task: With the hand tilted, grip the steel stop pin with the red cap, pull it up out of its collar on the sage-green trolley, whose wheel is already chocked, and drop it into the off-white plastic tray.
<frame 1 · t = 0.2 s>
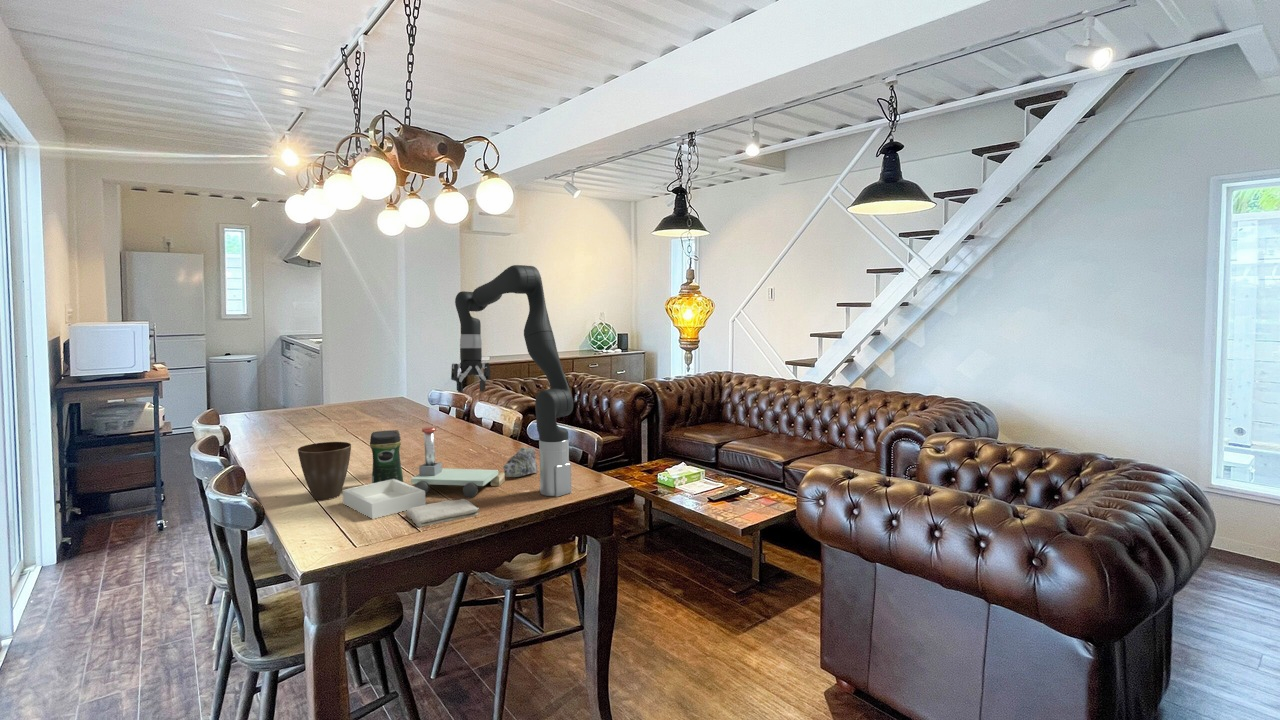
hand: (471, 391, 222), 29 cm above the table, tool pointing down, fingers open, 8 cm apart
coffee jar: (387, 486, 204), on the table
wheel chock: (497, 483, 205), on the table
tray: (384, 505, 184), on the table
plant pot: (327, 497, 193), on the table
stop pin: (430, 473, 200), point 5 cm above the table, touching trolley
trolley: (456, 489, 199), on the table
mineral rock: (520, 475, 216), on the table
washcloth: (443, 517, 175), on the table
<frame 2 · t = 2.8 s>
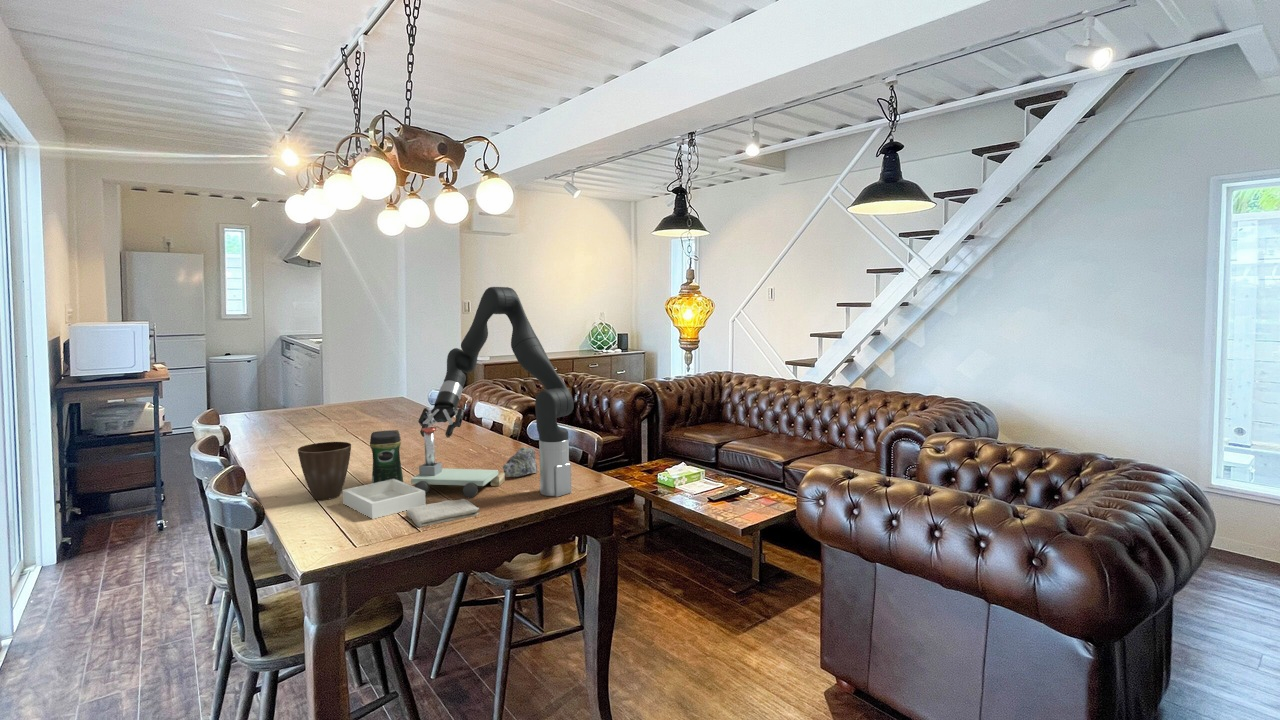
hand: (435, 436, 203), 17 cm above the table, tool tilted 45°, fingers open, 8 cm apart
nothing on the table moved.
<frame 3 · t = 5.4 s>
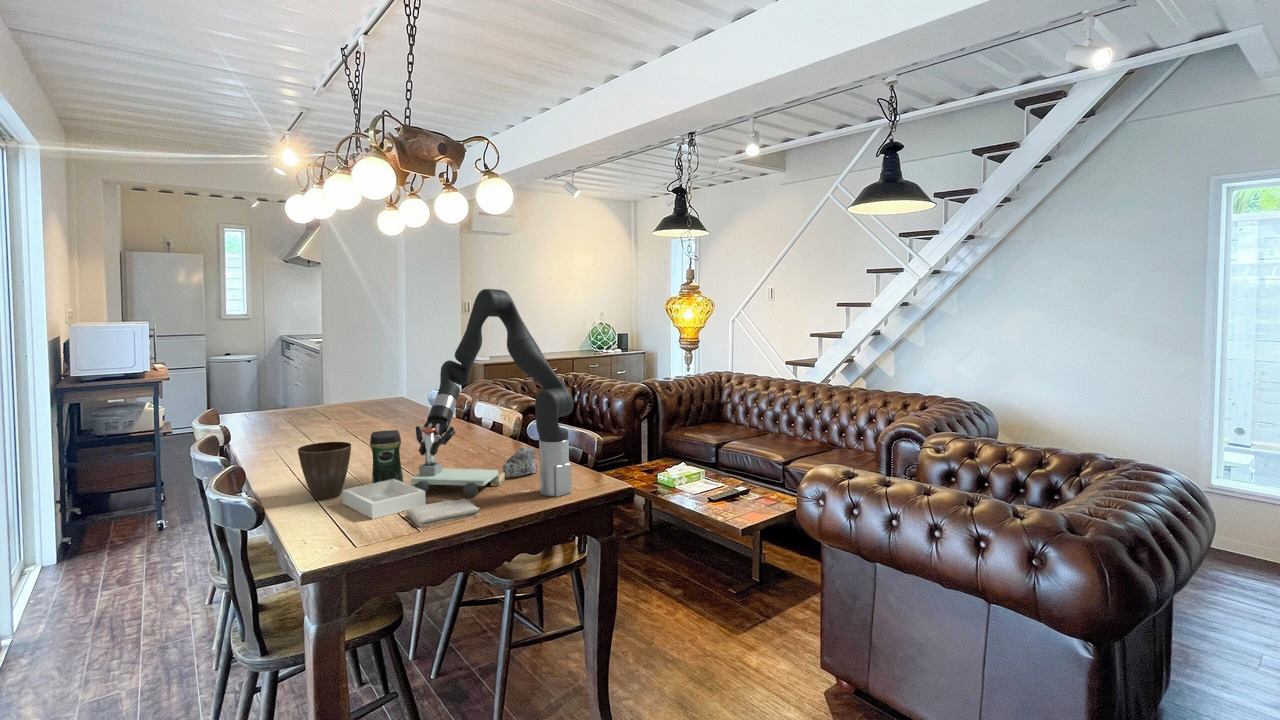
hand: (427, 454, 198), 12 cm above the table, tool tilted 45°, fingers closed on stop pin, 3 cm apart
stop pin: (430, 473, 200), point 5 cm above the table, touching gripper, trolley
everything else where it was.
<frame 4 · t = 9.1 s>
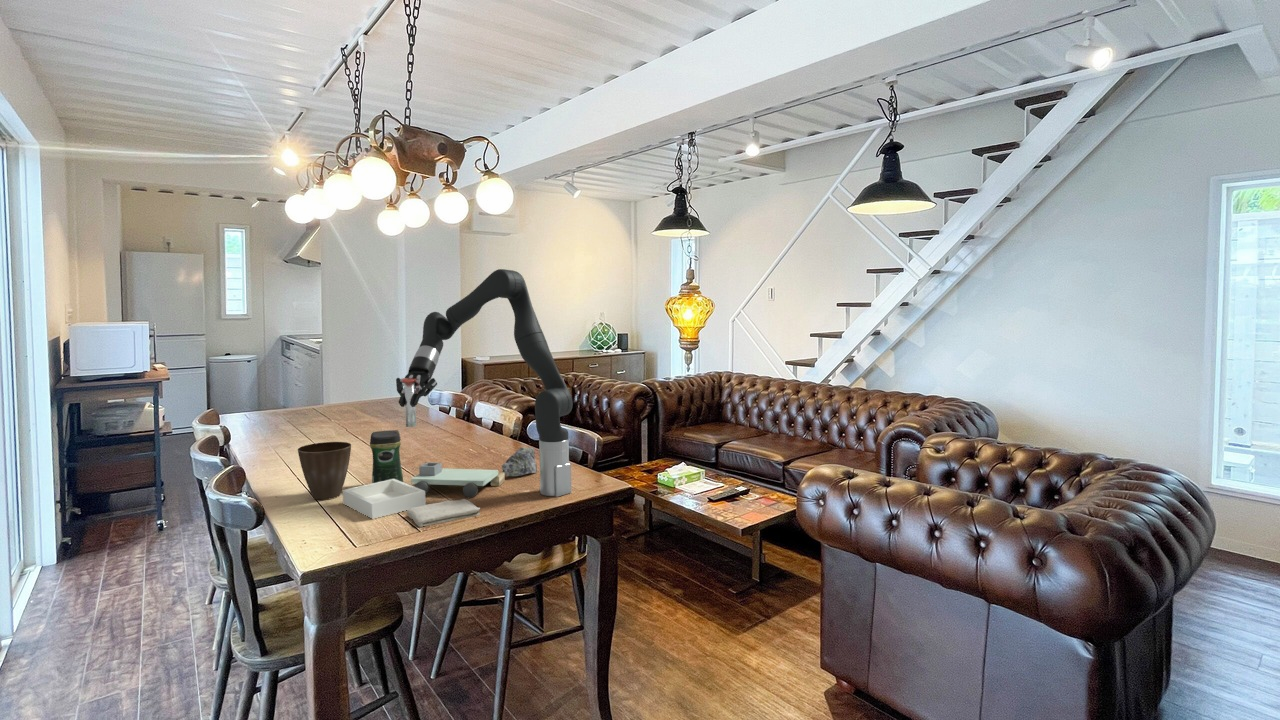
hand: (406, 405, 190), 29 cm above the table, tool tilted 45°, fingers closed on stop pin, 3 cm apart
stop pin: (411, 426, 193), point 22 cm above the table, touching gripper
everything else where it was.
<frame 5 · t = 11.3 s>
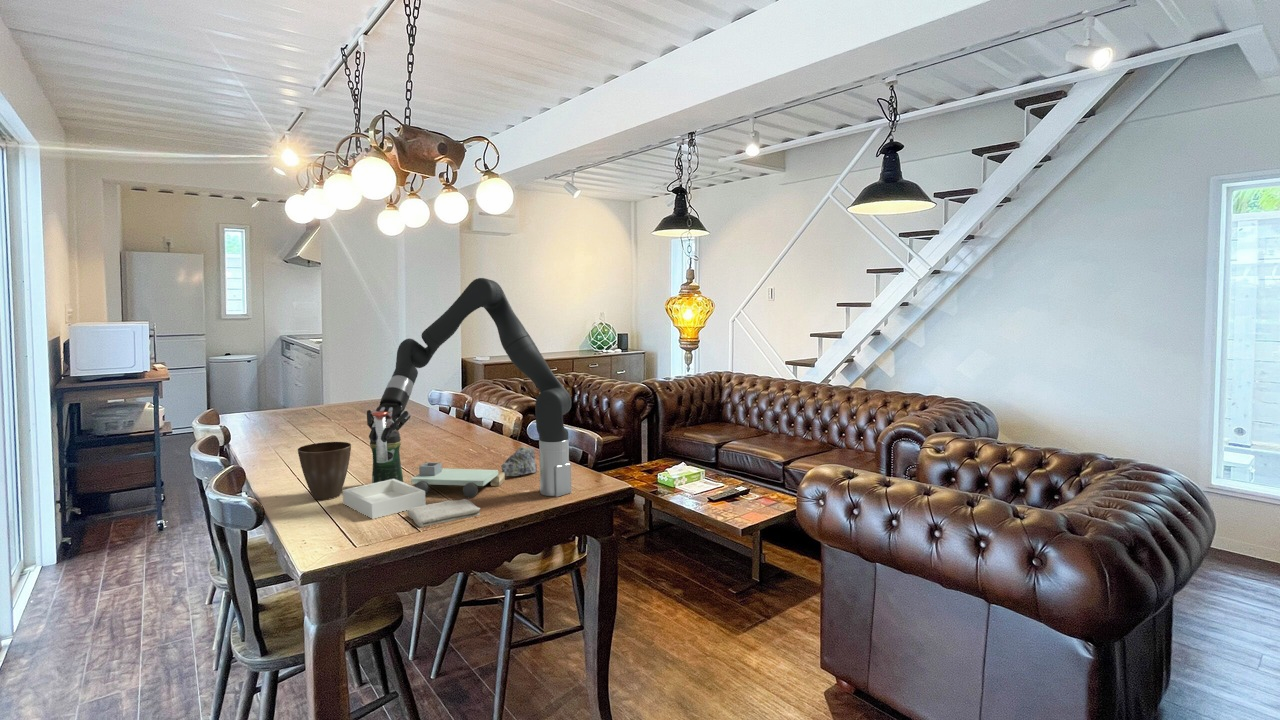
hand: (377, 440, 180), 20 cm above the table, tool tilted 45°, fingers closed on stop pin, 3 cm apart
stop pin: (382, 461, 183), point 13 cm above the table, touching gripper
when the fingers open (10 cm above the table, at t = 13.0 s): stop pin drops 2 cm, resting on tray.
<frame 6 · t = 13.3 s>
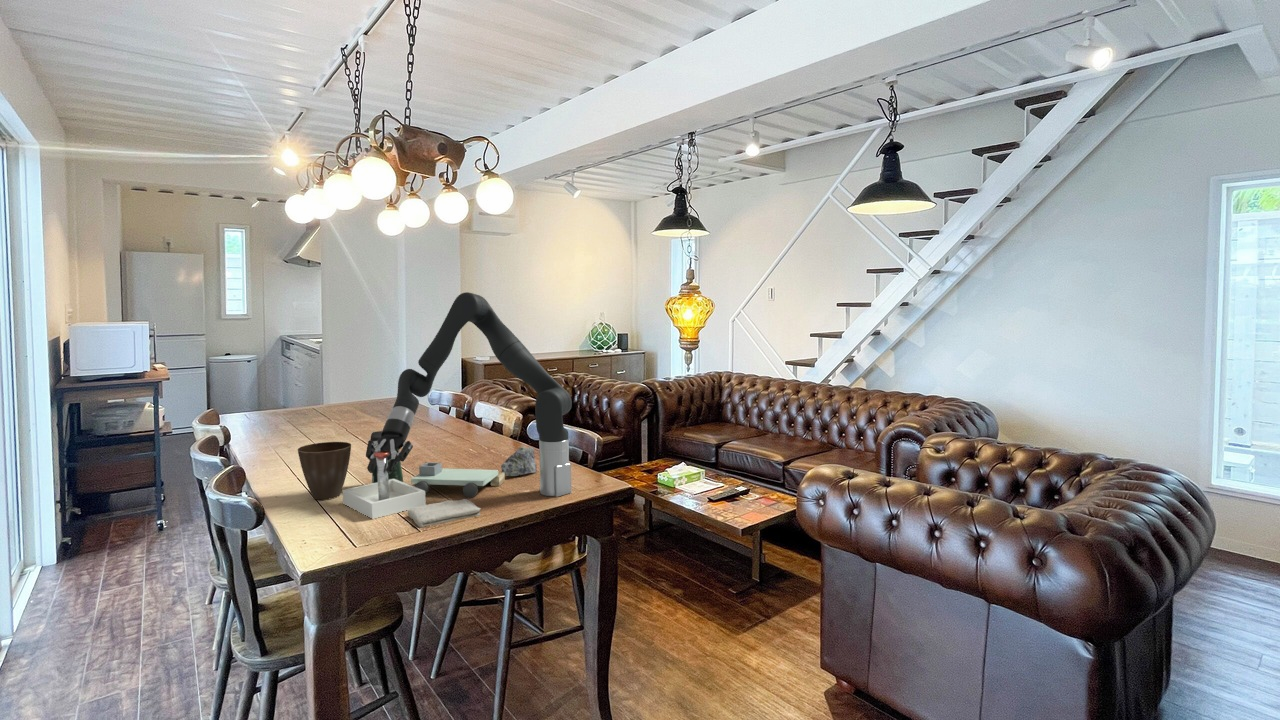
hand: (379, 471, 181), 11 cm above the table, tool tilted 45°, fingers open, 5 cm apart
stop pin: (384, 501, 184), point 1 cm above the table, touching tray
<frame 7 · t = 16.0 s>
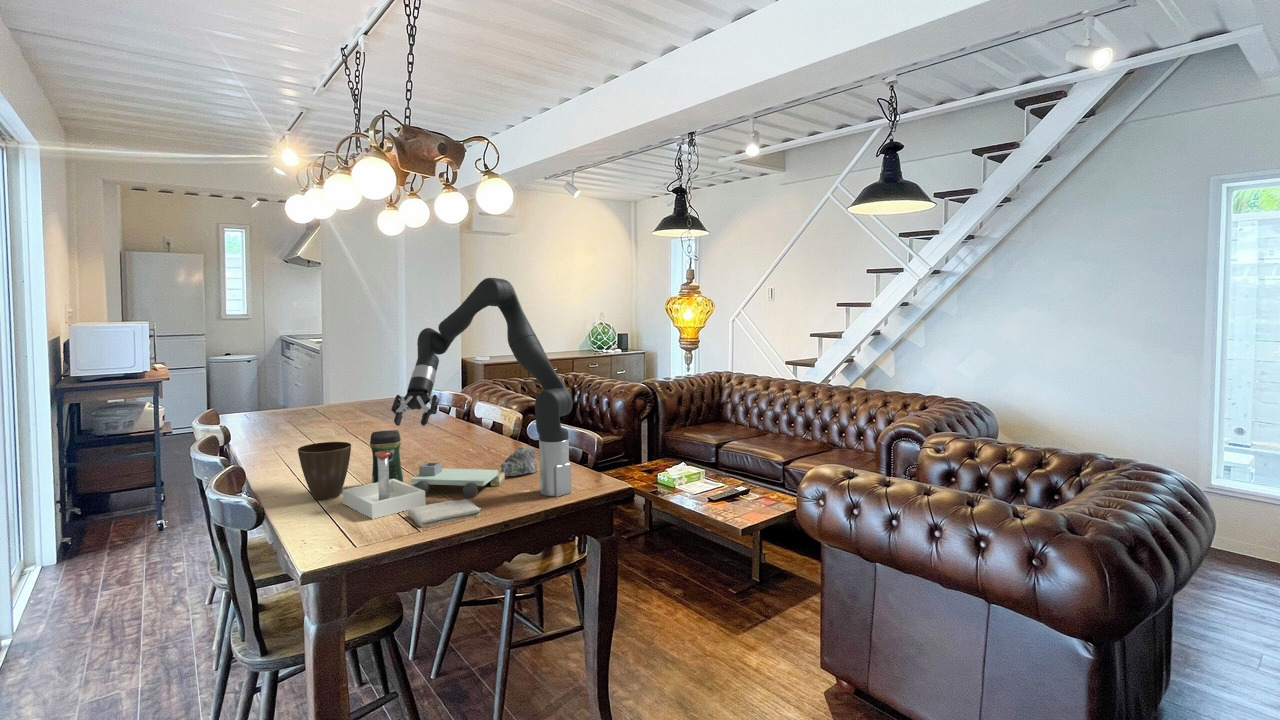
hand: (409, 424, 195), 22 cm above the table, tool tilted 40°, fingers open, 8 cm apart
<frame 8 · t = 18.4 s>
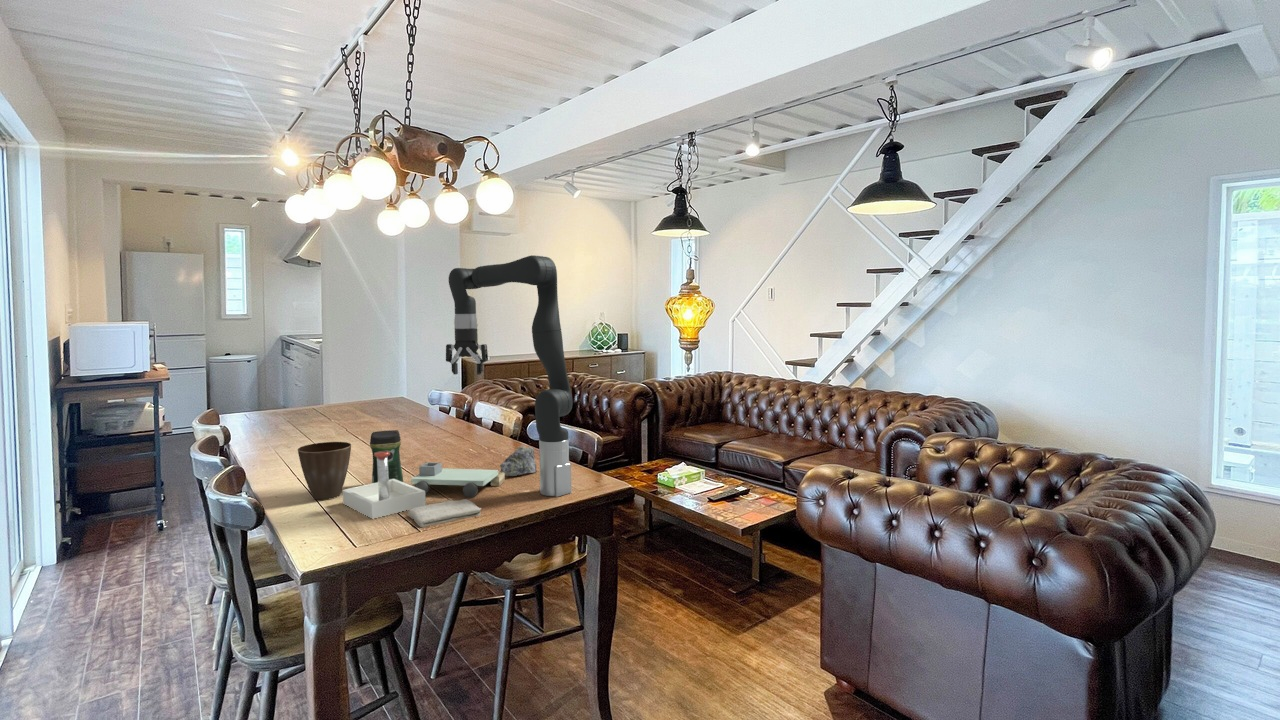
hand: (467, 374, 211), 36 cm above the table, tool pointing down, fingers open, 8 cm apart
at the end: stop pin inside the target area on the tray (0.1 cm from its centre), point 1.0 cm above the tray's base; stop pin moved 19.0 cm from its start; the gripper is holding nothing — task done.
